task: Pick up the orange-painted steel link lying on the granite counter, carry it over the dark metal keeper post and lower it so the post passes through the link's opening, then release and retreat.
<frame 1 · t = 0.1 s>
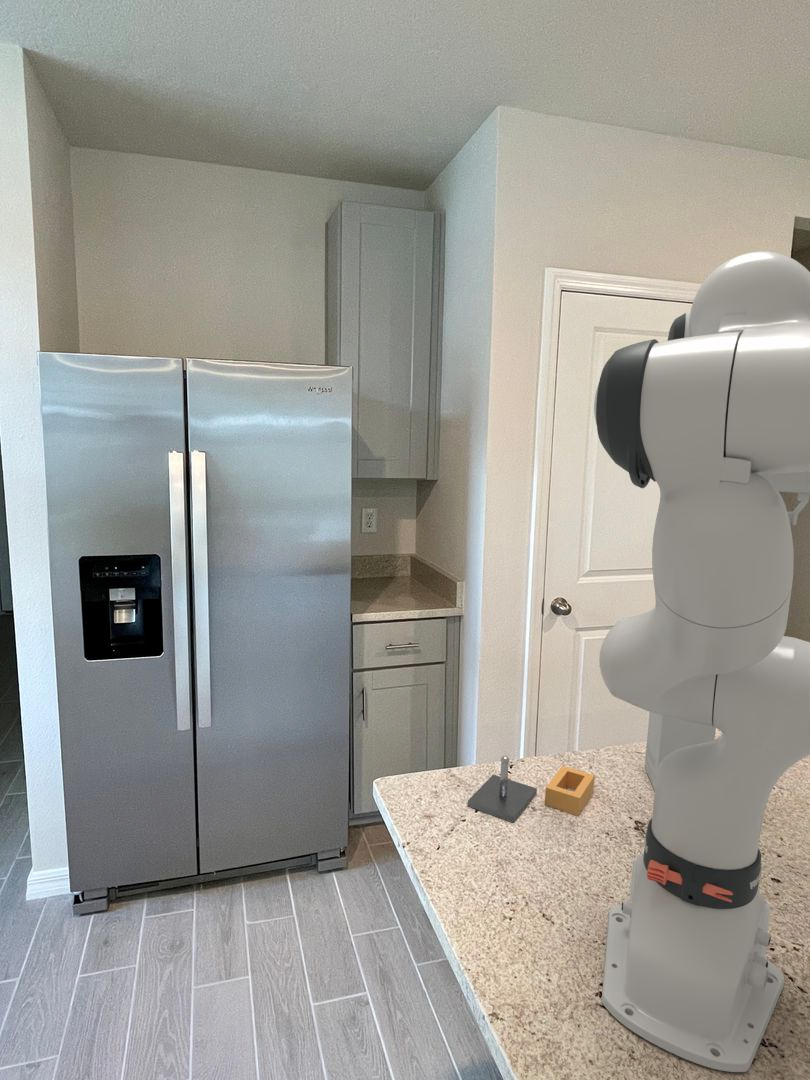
hand: (753, 521, 94), 48 cm above the countertop, fingers open, 8 cm apart
keeper post: (502, 800, 106), on the countertop
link: (569, 797, 107), on the countertop
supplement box: (675, 782, 113), on the countertop
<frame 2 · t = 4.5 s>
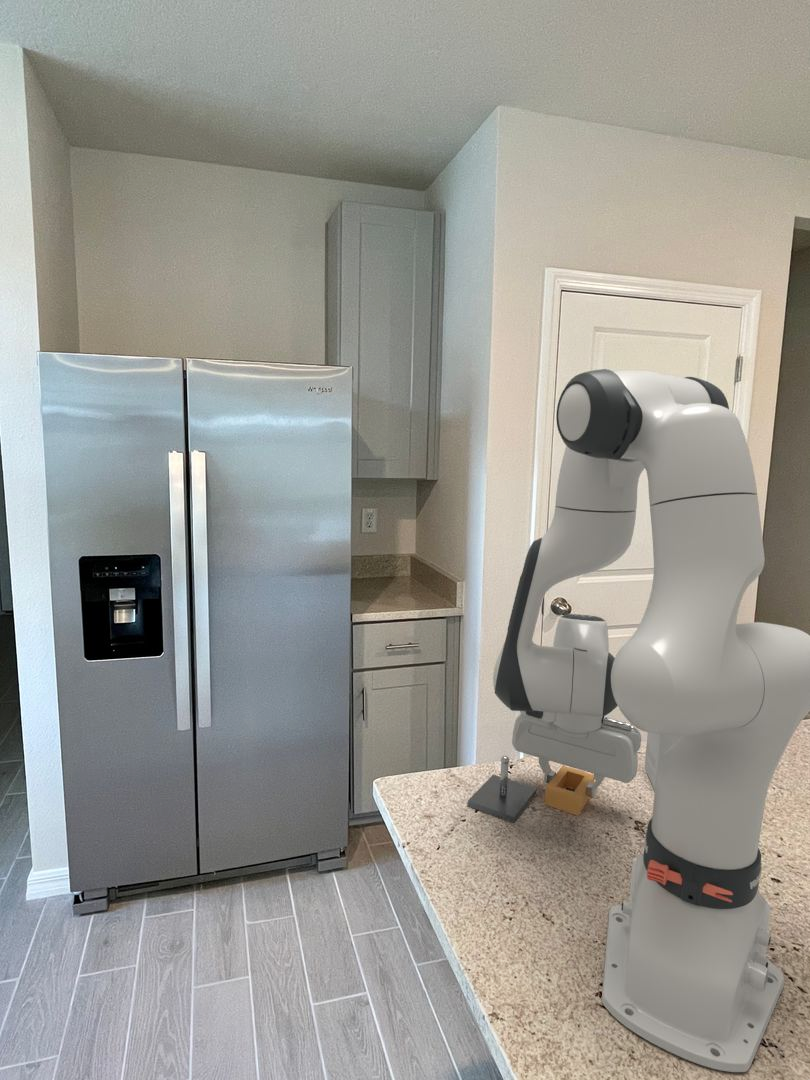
hand: (570, 789, 107), 2 cm above the countertop, fingers closed on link, 6 cm apart
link: (569, 797, 107), on the countertop, touching gripper
everything else where it was.
when the fingers open (4 cm above the countertop, at t = 9.7 s): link drops 1 cm, resting on keeper post.
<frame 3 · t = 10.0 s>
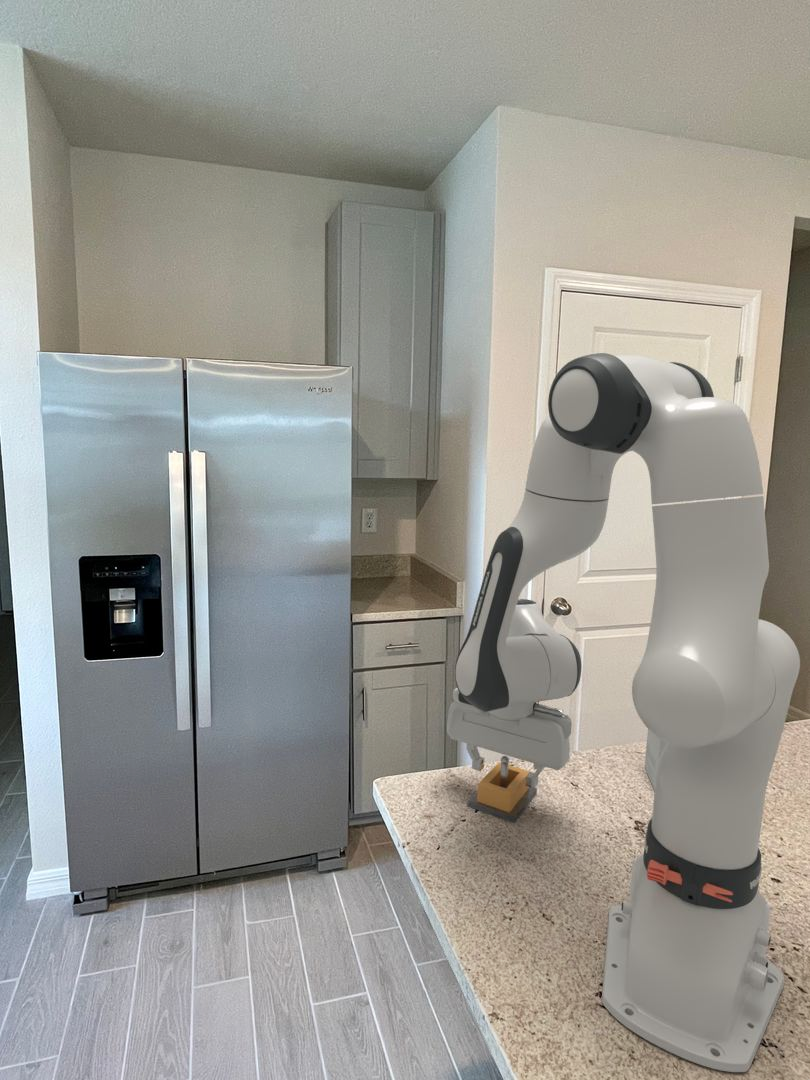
hand: (504, 777, 105), 4 cm above the countertop, fingers open, 8 cm apart
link: (503, 794, 105), point 1 cm above the countertop, touching keeper post
everything else where it was.
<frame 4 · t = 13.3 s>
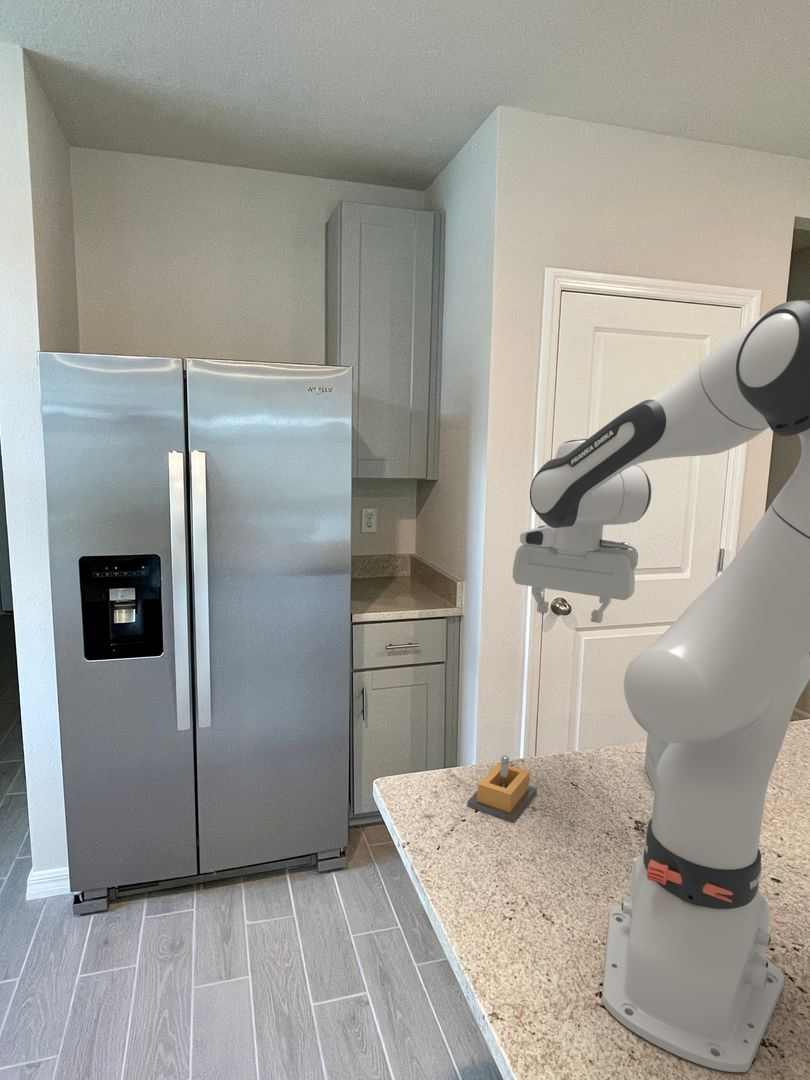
hand: (568, 616, 110), 29 cm above the countertop, fingers open, 8 cm apart
nothing on the countertop moved.
at the end: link 0.1 cm from the keeper post (horizontally); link point 1.0 cm above the countertop; the gripper is holding nothing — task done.
